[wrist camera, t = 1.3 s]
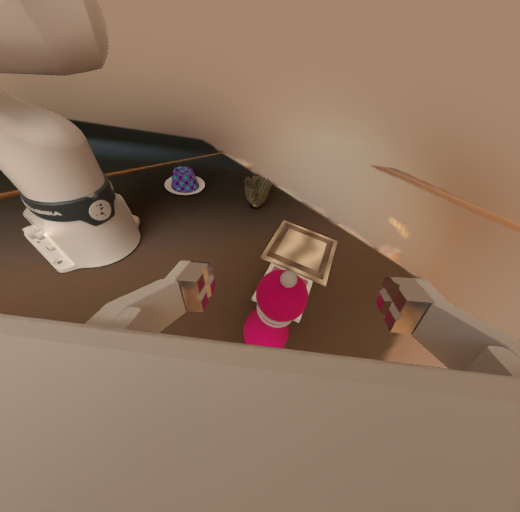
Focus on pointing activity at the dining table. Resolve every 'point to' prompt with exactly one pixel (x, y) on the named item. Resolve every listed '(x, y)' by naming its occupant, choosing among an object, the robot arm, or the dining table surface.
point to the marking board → (301, 252)
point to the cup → (257, 191)
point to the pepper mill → (275, 309)
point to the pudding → (184, 181)
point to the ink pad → (305, 280)
